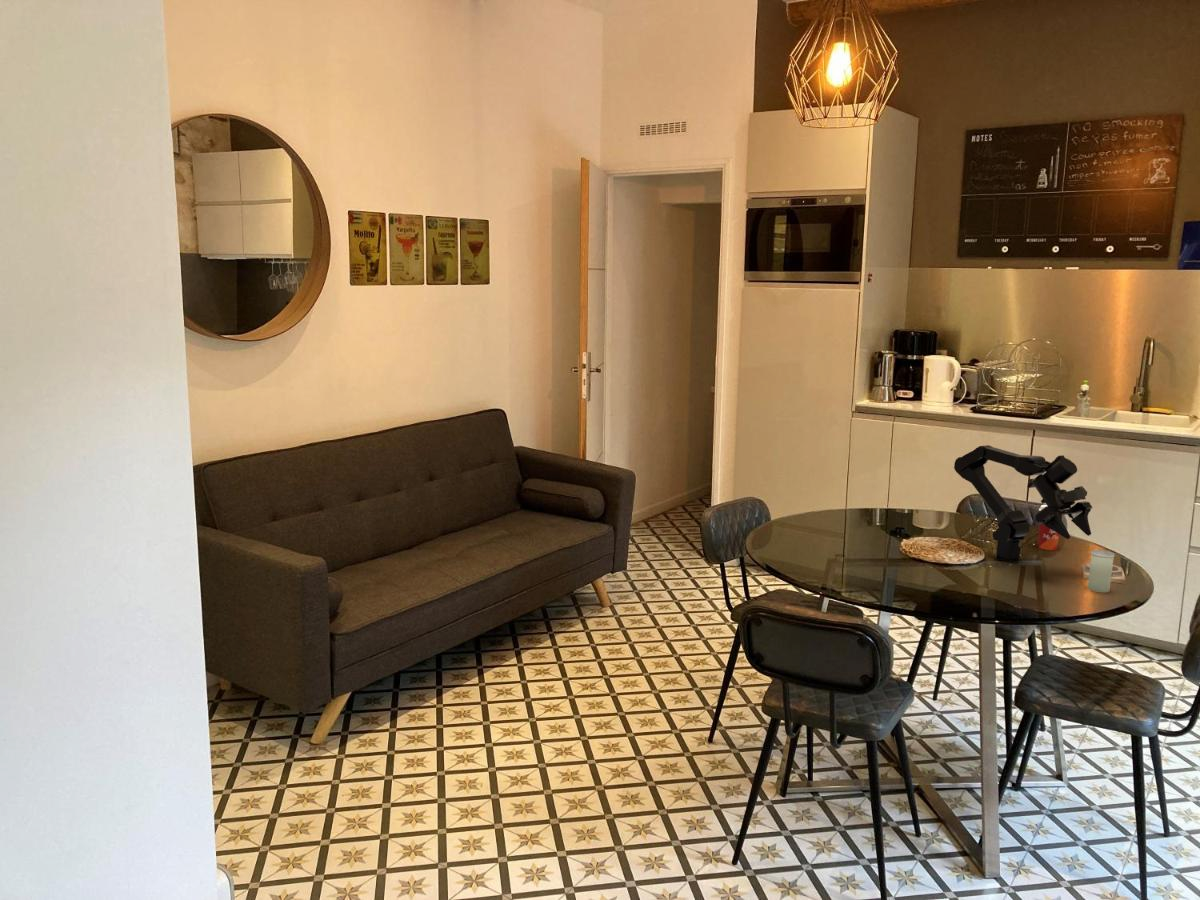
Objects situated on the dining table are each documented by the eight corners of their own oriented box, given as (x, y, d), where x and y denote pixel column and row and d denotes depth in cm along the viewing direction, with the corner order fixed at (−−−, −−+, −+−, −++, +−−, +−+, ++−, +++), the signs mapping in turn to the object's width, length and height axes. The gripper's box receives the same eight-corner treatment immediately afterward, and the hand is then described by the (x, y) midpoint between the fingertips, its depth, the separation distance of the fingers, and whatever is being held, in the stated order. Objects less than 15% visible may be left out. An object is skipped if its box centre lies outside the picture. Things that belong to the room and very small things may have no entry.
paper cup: (1045, 552, 308) (1050, 510, 305) (1029, 545, 315) (1033, 504, 313) (1065, 550, 310) (1070, 509, 307) (1049, 544, 317) (1053, 503, 315)
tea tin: (1087, 590, 270) (1092, 553, 268) (1086, 584, 275) (1091, 548, 273) (1110, 593, 268) (1115, 556, 266) (1109, 588, 273) (1113, 551, 271)
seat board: (1083, 578, 281) (1084, 569, 281) (1081, 568, 291) (1082, 559, 291) (1125, 583, 277) (1126, 574, 276) (1122, 573, 287) (1123, 564, 286)
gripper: (1048, 480, 273) (1078, 525, 266) (1090, 474, 282) (1120, 519, 274) (1022, 500, 282) (1050, 545, 274) (1064, 495, 290) (1092, 538, 282)
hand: (1079, 536), depth 276 cm, fingers open, 9 cm apart
